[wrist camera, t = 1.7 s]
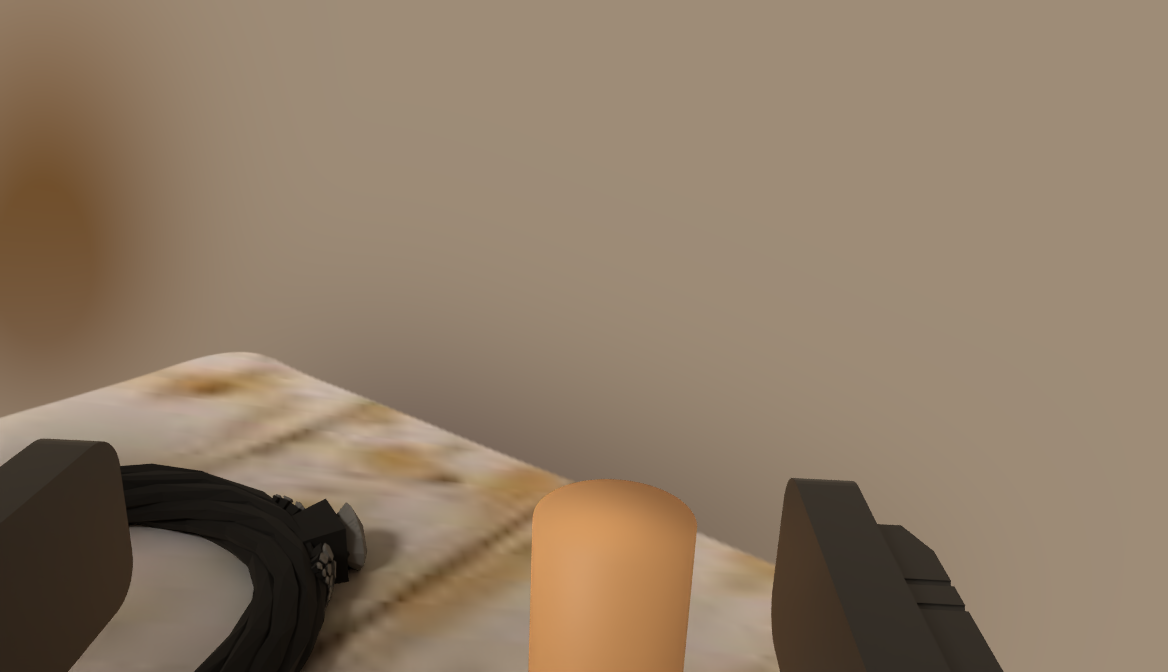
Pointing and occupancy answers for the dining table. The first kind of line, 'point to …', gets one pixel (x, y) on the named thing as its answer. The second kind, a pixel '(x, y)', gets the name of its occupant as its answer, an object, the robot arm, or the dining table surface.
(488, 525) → the dining table surface
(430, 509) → the dining table surface
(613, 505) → the tube
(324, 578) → the cable lock
